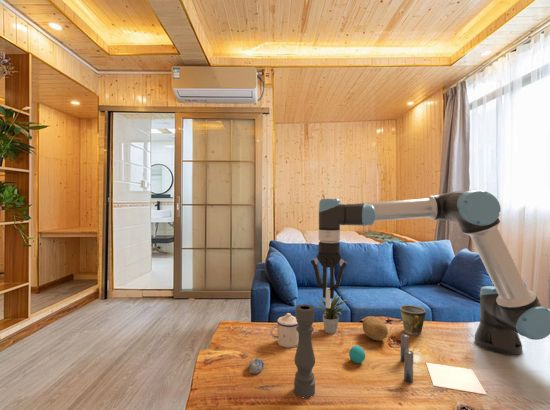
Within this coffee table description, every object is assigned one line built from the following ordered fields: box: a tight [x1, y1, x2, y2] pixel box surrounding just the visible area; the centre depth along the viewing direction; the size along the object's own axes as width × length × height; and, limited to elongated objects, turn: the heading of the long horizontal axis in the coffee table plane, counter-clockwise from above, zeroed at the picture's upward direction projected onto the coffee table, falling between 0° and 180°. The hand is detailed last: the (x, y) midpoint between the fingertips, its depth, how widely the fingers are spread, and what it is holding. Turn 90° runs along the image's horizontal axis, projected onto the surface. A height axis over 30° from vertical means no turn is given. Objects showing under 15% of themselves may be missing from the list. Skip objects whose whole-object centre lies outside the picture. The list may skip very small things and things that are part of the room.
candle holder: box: [293, 303, 316, 399], centre depth 90 cm, size 6×6×25 cm
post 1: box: [400, 333, 410, 363], centre depth 108 cm, size 3×3×9 cm
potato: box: [362, 315, 389, 342], centre depth 126 cm, size 10×14×8 cm
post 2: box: [403, 350, 414, 384], centre depth 96 cm, size 3×3×9 cm
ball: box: [348, 345, 366, 364], centre depth 107 cm, size 6×6×6 cm
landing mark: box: [425, 362, 488, 396], centre depth 98 cm, size 14×14×1 cm
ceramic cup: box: [400, 304, 426, 336], centre depth 131 cm, size 13×10×10 cm
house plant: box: [316, 294, 348, 334], centre depth 132 cm, size 14×14×16 cm
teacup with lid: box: [269, 312, 299, 349], centre depth 121 cm, size 12×9×12 cm
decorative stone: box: [248, 357, 264, 375], centre depth 102 cm, size 6×4×5 cm
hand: (328, 306), depth 110 cm, fingers closed
